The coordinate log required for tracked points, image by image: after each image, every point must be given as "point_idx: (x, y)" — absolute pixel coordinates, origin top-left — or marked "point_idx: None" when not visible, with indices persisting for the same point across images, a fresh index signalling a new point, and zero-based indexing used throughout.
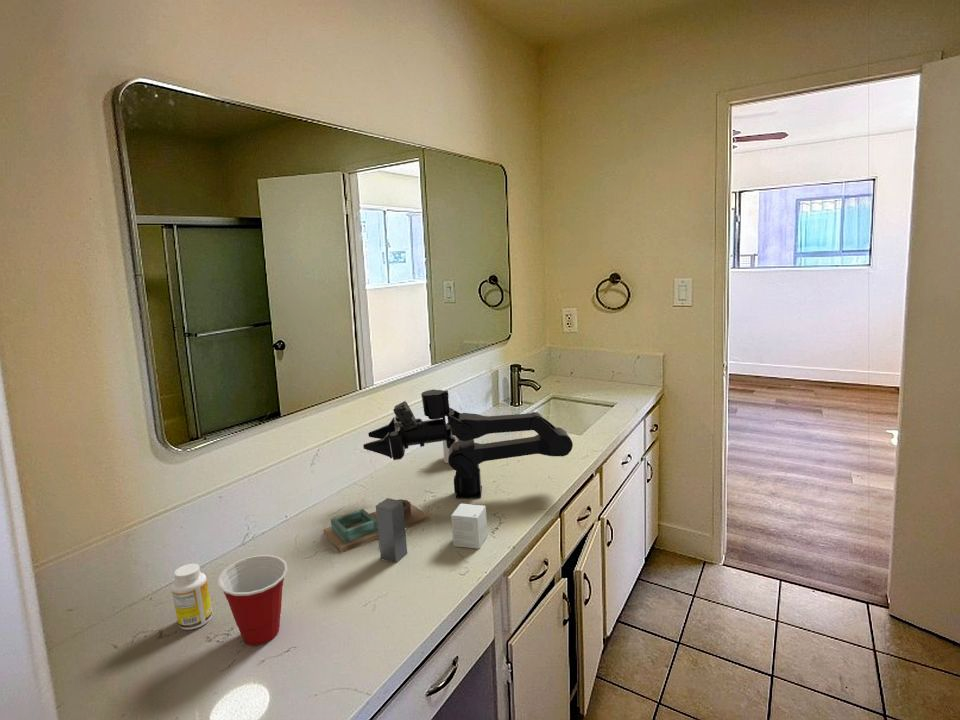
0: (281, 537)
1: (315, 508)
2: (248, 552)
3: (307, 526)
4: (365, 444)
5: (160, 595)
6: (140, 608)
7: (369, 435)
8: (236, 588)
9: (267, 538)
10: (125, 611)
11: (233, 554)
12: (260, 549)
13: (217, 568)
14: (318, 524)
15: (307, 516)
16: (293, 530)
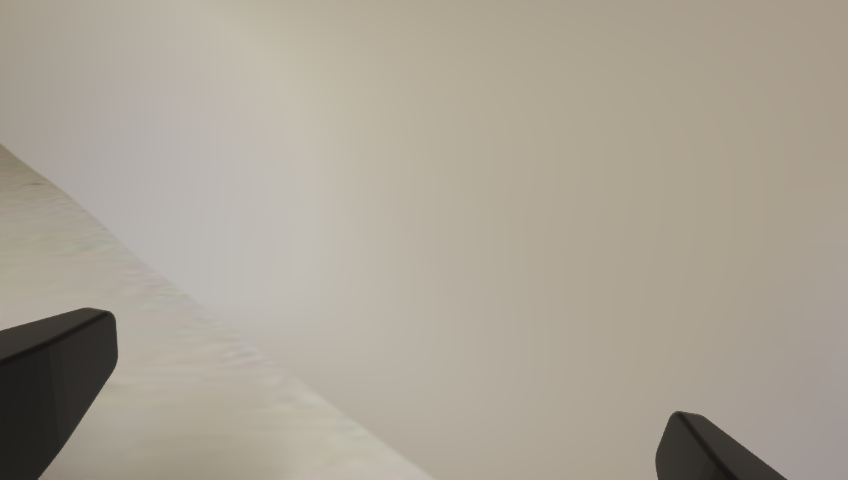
0: (142, 347)
1: (360, 447)
2: (105, 285)
3: (175, 419)
4: (57, 318)
5: (33, 190)
6: (7, 177)
7: (665, 451)
8: None
9: (170, 318)
10: (21, 167)
11: (126, 263)
12: (97, 305)
13: (68, 243)
14: (161, 458)
15: (285, 419)
16: (175, 377)
